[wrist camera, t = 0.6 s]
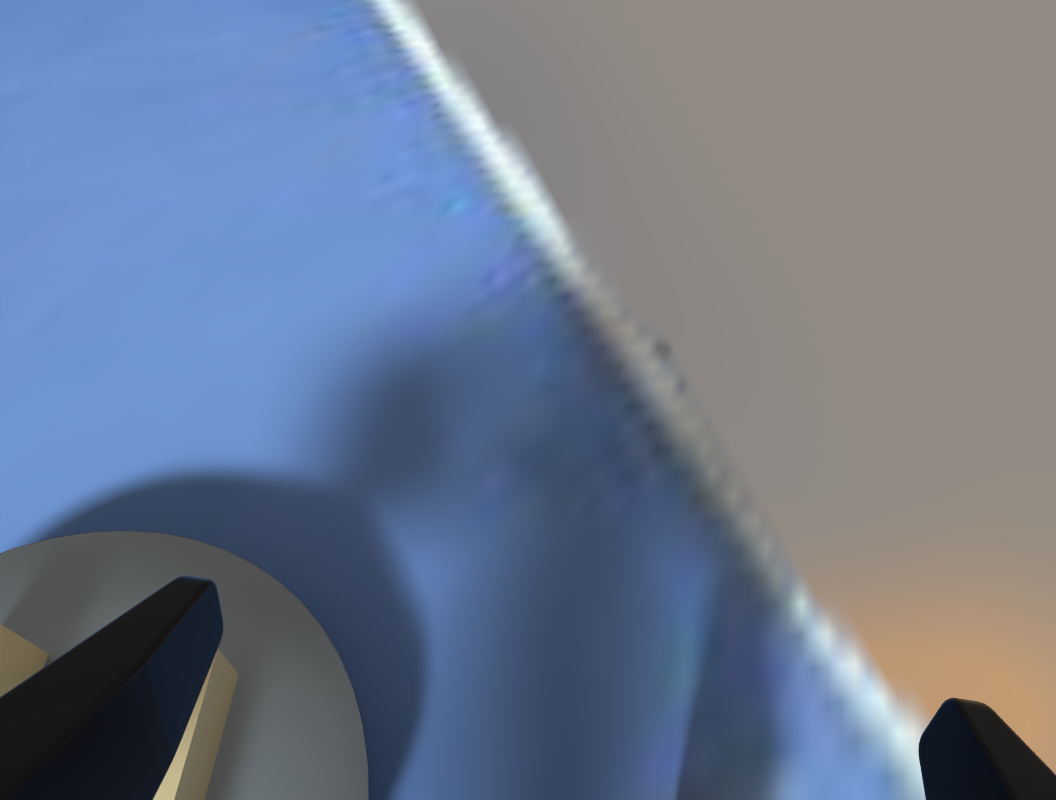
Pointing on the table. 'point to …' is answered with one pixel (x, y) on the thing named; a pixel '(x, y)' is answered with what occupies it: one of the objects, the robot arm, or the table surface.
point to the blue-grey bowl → (233, 679)
